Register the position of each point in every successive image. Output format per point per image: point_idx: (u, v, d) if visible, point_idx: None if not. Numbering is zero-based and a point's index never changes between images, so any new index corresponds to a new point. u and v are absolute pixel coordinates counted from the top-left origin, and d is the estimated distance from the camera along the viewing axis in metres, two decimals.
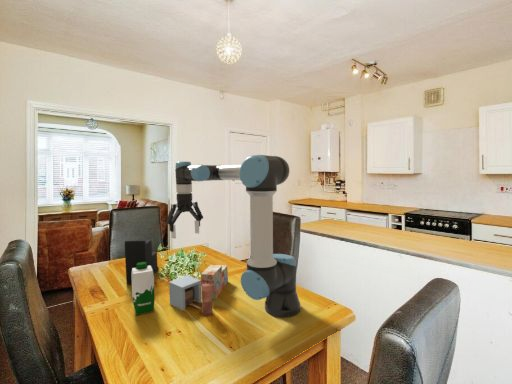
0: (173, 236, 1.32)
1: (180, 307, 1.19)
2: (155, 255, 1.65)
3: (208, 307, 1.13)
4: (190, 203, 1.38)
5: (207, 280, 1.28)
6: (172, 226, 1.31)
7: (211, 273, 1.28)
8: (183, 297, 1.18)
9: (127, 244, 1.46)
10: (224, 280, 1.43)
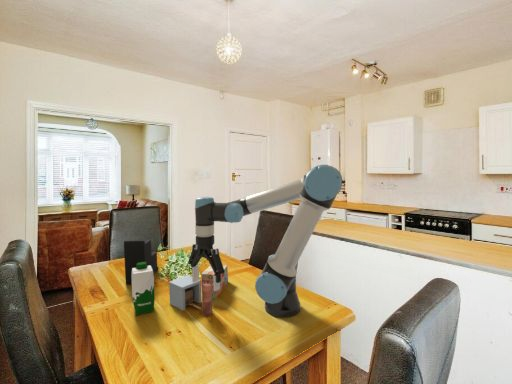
0: None
1: (180, 307, 1.19)
2: (155, 255, 1.65)
3: (208, 307, 1.13)
4: (207, 249, 1.11)
5: (208, 280, 1.28)
6: None
7: (211, 273, 1.29)
8: (183, 297, 1.18)
9: (126, 244, 1.46)
10: (224, 280, 1.43)
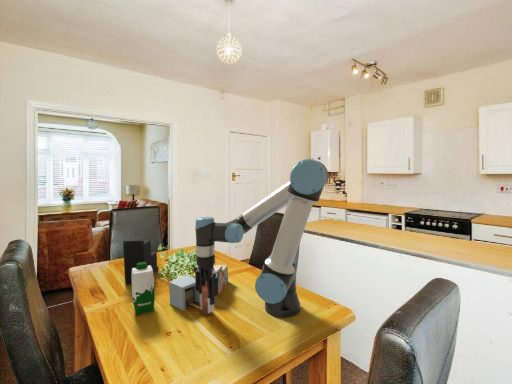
0: None
1: (180, 307, 1.19)
2: (155, 255, 1.65)
3: None
4: (208, 269, 1.11)
5: None
6: None
7: None
8: (183, 297, 1.18)
9: (126, 244, 1.46)
10: (224, 280, 1.43)
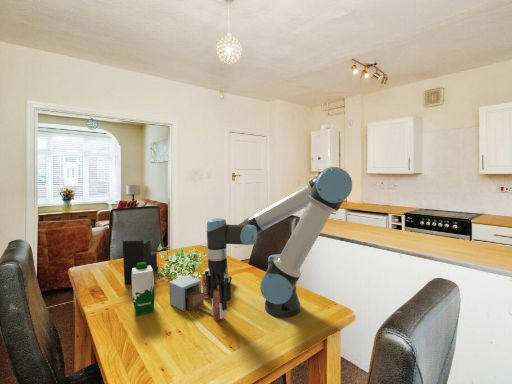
0: None
1: (180, 307, 1.19)
2: (154, 255, 1.65)
3: None
4: (220, 273, 1.07)
5: None
6: (211, 299, 1.12)
7: None
8: (183, 297, 1.18)
9: (125, 244, 1.46)
10: None
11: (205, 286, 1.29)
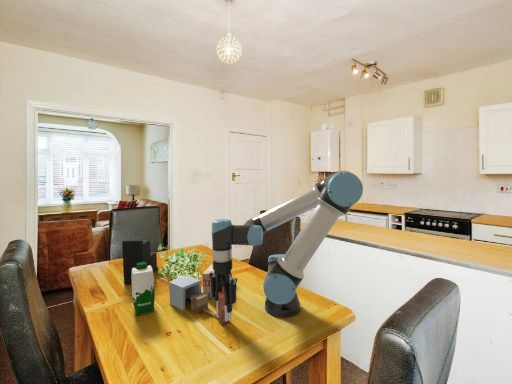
0: None
1: (180, 307, 1.19)
2: (154, 255, 1.65)
3: None
4: (225, 275, 1.05)
5: (209, 280, 1.28)
6: None
7: None
8: (183, 297, 1.18)
9: (124, 243, 1.46)
10: None
11: (205, 286, 1.29)
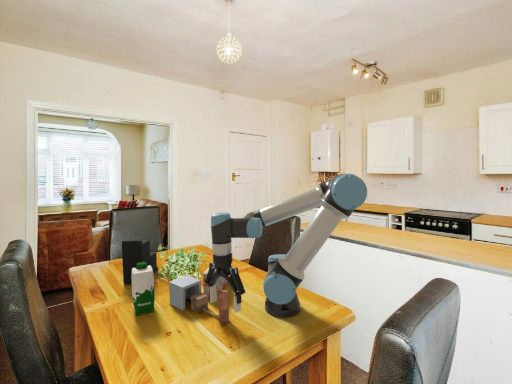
0: None
1: (180, 307, 1.19)
2: (154, 255, 1.65)
3: (225, 315, 1.07)
4: (225, 268, 1.05)
5: None
6: (210, 287, 1.12)
7: None
8: (183, 297, 1.18)
9: (124, 243, 1.46)
10: (225, 279, 1.43)
11: (206, 286, 1.29)
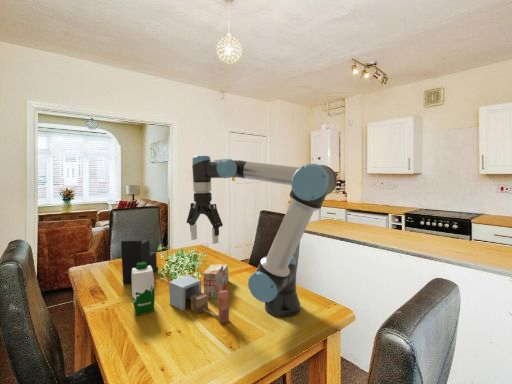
0: None
1: (180, 307, 1.19)
2: (154, 255, 1.65)
3: (225, 315, 1.07)
4: (205, 205, 1.16)
5: (210, 280, 1.28)
6: (191, 226, 1.23)
7: (213, 272, 1.29)
8: (183, 297, 1.18)
9: (123, 243, 1.46)
10: (225, 279, 1.44)
11: (206, 286, 1.29)
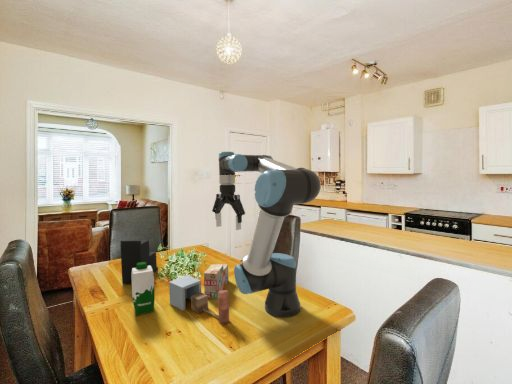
0: None
1: (180, 307, 1.19)
2: (154, 255, 1.65)
3: (225, 315, 1.07)
4: (229, 195, 1.31)
5: (210, 279, 1.29)
6: None
7: (214, 272, 1.30)
8: (183, 297, 1.18)
9: (123, 243, 1.47)
10: (225, 279, 1.44)
11: (207, 285, 1.29)
